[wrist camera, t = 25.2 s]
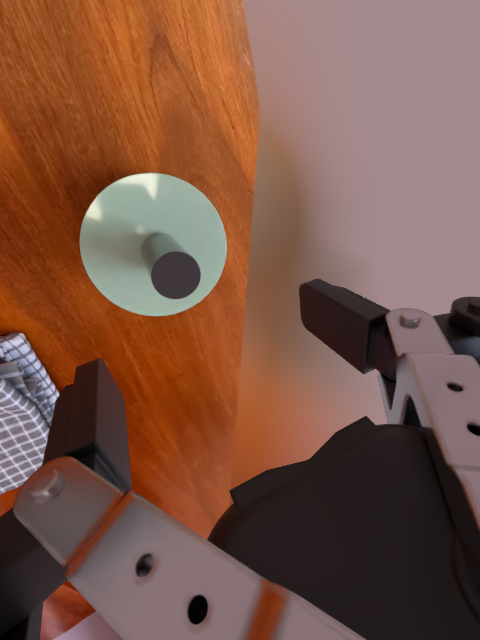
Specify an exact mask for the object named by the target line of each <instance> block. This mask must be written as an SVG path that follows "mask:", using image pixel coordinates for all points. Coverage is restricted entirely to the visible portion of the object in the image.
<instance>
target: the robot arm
mask: <svg viewBox="0 0 480 640" xmlns="http://www.w3.org/2000/svg"><path fill="white" fill-rule="evenodd" d="M299 295H300V310H301V320H302V322H303V325H304V326H305V328H306V329H307V330H308V331H310V332H311V333H312V334H313V335H315V336H316V337H317V338H318V339H320V340H321V341H322V342H323V343H325V344H326V345H327V346H328V347H330V348H331V349H332V350H334V351H335V352H336V353H337V354H339V355H340V356H341V357H342V358H344V359H345V360H346V361H347V362H349V363H350V364H351V365H353V366H354V367H355V368H356V369H357V370H359V371H360V372H361V373H362V374H366V373H368V372H370V371H371V370H374V369H377V370H378V371H379V373H378V381H379V385H380V389H381V394H382V399H383V403H384V408H385V412H386V417H387V424H383V425H375V424H374V423H373V422H372V421H371V420H370V419H369V418H368V417H366V416H365V417H363V418H361V419H359V420H358V421H356V422H354V423H352V424H350V425H348V426H346V427H345V428H343V429H341V430H339V431H337V432H336V433H335V434H334V435H333V436H332V437H331V438H330V439H329V440H328V441H327V442H326V443H325V444H324V445H323V446H322V447H321V448H320V449H319V450H318V451H317V452H316V453H315V454H314V455H313V456H312V457H311V458H310V459H308V460H306V461H303V462H299V463H294V464H290V465H286V466H282V467H278V468H274V469H270V470H266V471H265V472H263V473H261V474H259V475H257V476H255V477H253V478H252V479H250V480H248V481H246V482H244V483H242V484H241V485H239V486H237V487H235V488H233V489H231V490H230V494H231V497H232V499H233V502H234V503H233V504H232V505H231V506H230V507H229V508H228V509H227V510H226V511H225V513H224V514H223V515H222V516H221V518H220V519H219V520H218V522H217V523H216V525H215V526H214V528H213V530H212V531H211V533H210V535H209V537H208V539H207V540H206V539H204V538H203V537H201V536H200V535H198V534H197V533H195V532H194V531H192V530H191V529H189V528H188V527H186V526H185V525H183V524H182V523H180V522H179V521H177V520H176V519H174V518H173V517H171V516H170V515H168V514H167V513H165V512H164V511H162V510H161V509H159V508H158V507H156V506H155V505H153V504H152V503H150V502H149V501H147V500H146V499H144V498H143V497H141V496H140V495H138V494H137V493H135V492H133V491H131V490H130V489H132V485H131V473H130V461H129V448H128V436H127V424H126V411H125V403H124V399H123V396H122V393H121V391H120V389H119V387H118V385H117V384H116V382H115V380H114V379H113V377H112V375H111V373H110V372H109V370H108V368H107V366H106V365H105V363H104V361H103V360H102V359H101V358H99V359H96V360H94V361H91V362H88V363H85V364H83V365H80V366H77V368H76V372H75V379H74V384H71V385H68V386H66V387H65V388H64V389H63V391H62V392H61V393H60V395H59V396H58V398H57V399H56V402H55V407H54V412H53V413H54V415H53V416H52V421H51V425H52V426H50V430H49V435H48V439H47V444H46V449H45V453H44V458H43V463H42V466H41V467H40V468H38V469H37V470H36V471H35V472H34V473H33V474H32V475H31V476H30V477H29V478H28V479H27V480H26V481H25V482H24V484H23V485H22V486H21V488H20V489H19V491H18V493H17V495H16V498H15V500H14V504H13V508H12V509H10V510H9V511H8V512H6V513H5V514H4V515H2V516H1V517H0V640H40V630H41V620H42V609H43V601H44V600H45V599H47V598H48V597H49V596H50V595H51V594H52V593H53V592H54V591H55V590H56V589H57V588H58V587H60V586H61V585H62V584H63V583H64V582H65V581H66V580H67V579H68V580H69V581H70V582H71V583H72V585H73V586H74V587H75V588H76V589H77V590H78V591H79V592H80V593H81V594H82V595H83V596H84V598H85V599H86V600H87V601H88V602H89V603H90V604H91V605H92V606H93V607H94V608H95V610H96V611H97V612H98V613H99V614H100V615H101V616H102V617H103V618H104V619H105V620H106V621H107V623H108V624H109V625H110V626H111V627H112V628H113V629H114V630H115V631H116V632H117V633H118V635H119V636H120V637H121V638H122V639H123V640H480V297H463V298H459V299H456V300H455V301H454V302H453V303H452V307H451V310H450V313H448V314H442V315H436V316H431V315H430V314H428V313H426V312H424V311H421V310H418V309H412V308H400V309H395V310H392V311H391V310H388V309H386V308H384V307H382V306H380V305H378V304H376V303H374V302H372V301H370V300H368V299H366V298H363V297H362V296H360V295H358V294H355V293H354V292H352V291H350V290H348V289H346V288H343V287H338V286H334V285H331V284H329V283H327V282H325V281H323V280H321V279H314V280H312V281H309V282H306V283H304V284H301V285H300V288H299Z"/></svg>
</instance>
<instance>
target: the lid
mask: <svg viewBox="0 0 480 640" xmlns="http://www.w3.org/2000/svg"><path fill="white" fill-rule="evenodd" d="M226 252H227V242H226V235H225V230H224V227H223V223H222V221H221V218H220V216H219V214H218V212H217V211H216V209H215V207H214V206H213V205H212V203H211V202H210V201H209V199H208V198H207V197H206V196H205V195H204V194H203V193H202V192H200V191H199V190H198V189H197V188H196V187H194V186H192V185H191V184H189V183H188V182H186V181H184V180H182V179H179V178H177V177H174V176H170V175H167V174H161V173H138V174H133V175H129V176H126V177H123V178H121V179H119V180H117V181H114V182H113V183H111V184H110V185H108V186H107V187H105V188H104V189H103V190H102V191H101V192H100V193H99V194H98V195H97V196H96V197H95V199H94V200H93V201H92V202H91V204H90V206H89V208H88V209H87V211H86V213H85V216H84V219H83V221H82V225H81V230H80V253H81V258H82V261H83V265H84V267H85V270H86V272H87V274H88V276H89V278H90V279H91V281H92V283H93V284H94V285H95V286H96V288H97V289H98V290H99V291H100V292H101V293H102V294H103V295H104V296H105V297H106V298H107V299H109V300H110V301H111V302H112V303H114V304H116V305H117V306H119V307H121V308H123V309H125V310H128V311H130V312H133V313H137V314H141V315H147V316H166V315H172V314H176V313H179V312H182V311H184V310H187V309H189V308H191V307H192V306H194V305H196V304H197V303H199V302H200V301H201V300H203V299H204V298H205V297H206V296H207V295H208V294H209V293H210V291H211V290H212V289H213V288H214V286H215V285H216V283H217V282H218V280H219V278H220V276H221V274H222V271H223V268H224V264H225V260H226Z"/></svg>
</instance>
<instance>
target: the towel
mask: <svg viewBox="0 0 480 640" xmlns="http://www.w3.org/2000/svg"><path fill="white" fill-rule="evenodd" d="M58 396H59V392H58V390H57V389H56V388H55V385H54V384H53V383H52V381H51V380H50V377H49V375H48V374H47V373H46V371H45V368H44V366H42V364H41V362H40V361H39V359H38V358H37V357H36V354H35V353H34V351H33V350H32V349H31V346H30V344H29V342H28V341H27V340H26V337H25V336H24V334H23V333H16V332H14V333H11V334H9V335H7V336H0V494H3V493H4V492H6V491H8V490H12V489H15V488H17V487H18V486H21V485H23V484H24V482H25V481H26V480H27V479H28V478H29V477H30V476H31V475H32V474H33V473H34V472H35V471H36V470H37V469H38V468H40V467H41V466H42V463H43V458H44V453H45V449H46V444H47V439H48V435H49V430H50V426H52V425H51V421H52V416H53V415H54V413H53V412H54V407H55V402H56V399H57V398H58Z"/></svg>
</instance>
